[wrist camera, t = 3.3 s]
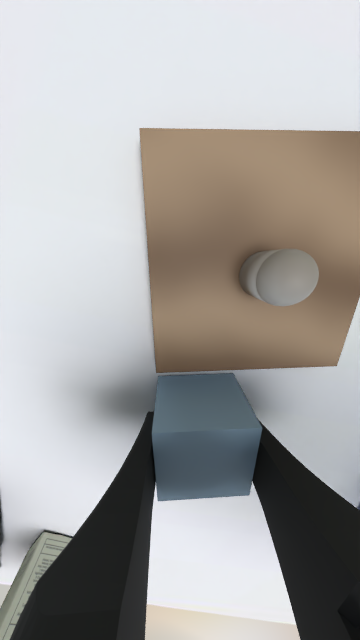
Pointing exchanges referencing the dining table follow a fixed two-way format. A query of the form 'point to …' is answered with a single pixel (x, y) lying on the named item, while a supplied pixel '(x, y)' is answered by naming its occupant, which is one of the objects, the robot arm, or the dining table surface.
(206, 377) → the slate blue cube
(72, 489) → the dining table surface
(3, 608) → the skincare box
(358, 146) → the board
